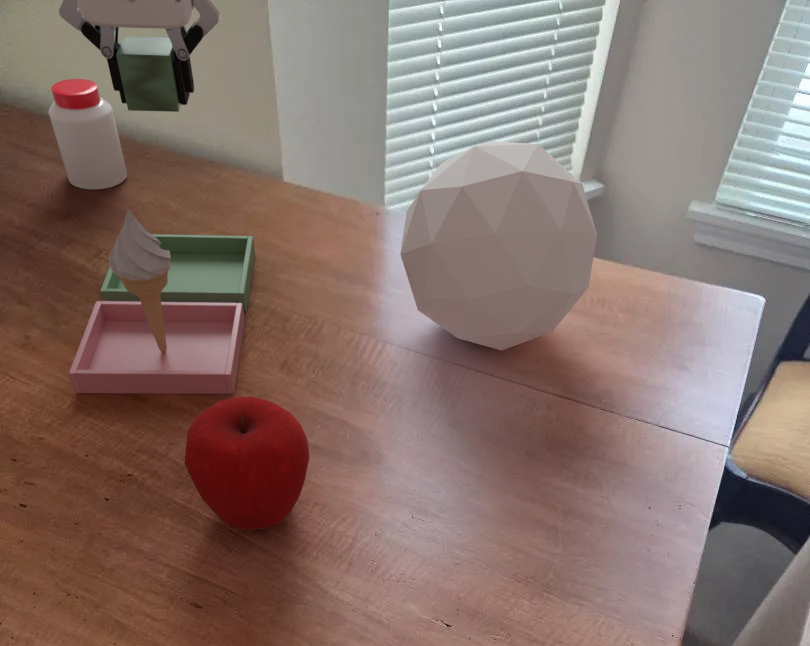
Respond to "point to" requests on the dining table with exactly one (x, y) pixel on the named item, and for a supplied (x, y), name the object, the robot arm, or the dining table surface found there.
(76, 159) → the pill bottle
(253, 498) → the apple
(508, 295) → the ball
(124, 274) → the ice cream cone
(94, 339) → the pink tray
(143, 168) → the dining table surface
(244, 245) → the green tray
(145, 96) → the green block
